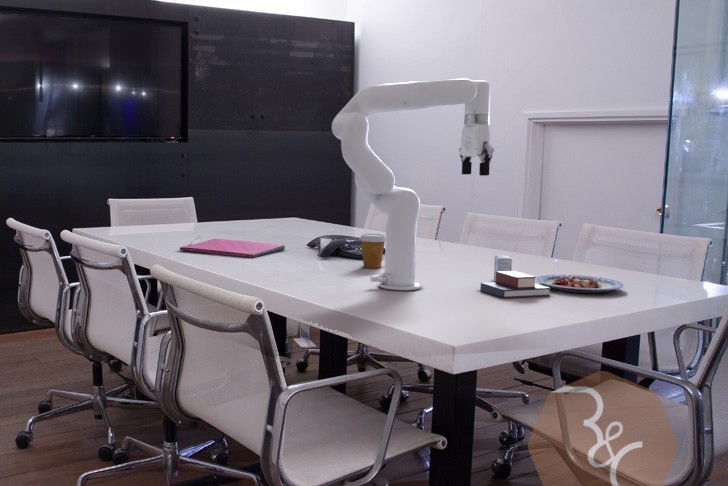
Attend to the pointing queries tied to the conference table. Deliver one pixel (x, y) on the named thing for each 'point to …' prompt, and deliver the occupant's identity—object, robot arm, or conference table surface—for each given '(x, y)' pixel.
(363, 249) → the disposable coffee cup
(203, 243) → the laptop bag
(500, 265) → the medicine box
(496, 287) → the hardback
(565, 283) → the ceramic plate
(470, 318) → the conference table surface
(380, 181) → the robot arm
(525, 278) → the paperback
